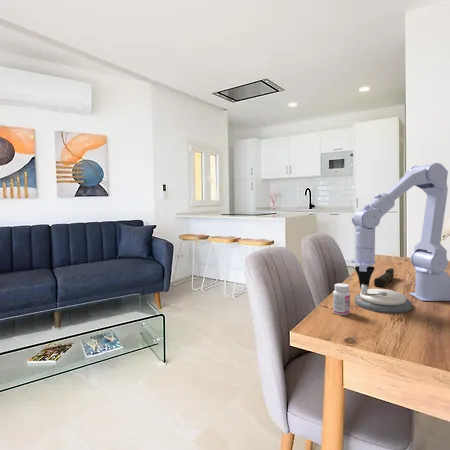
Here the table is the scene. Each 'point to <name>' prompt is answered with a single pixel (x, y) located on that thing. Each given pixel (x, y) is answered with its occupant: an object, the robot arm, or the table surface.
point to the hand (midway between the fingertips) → (364, 289)
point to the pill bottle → (341, 299)
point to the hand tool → (384, 278)
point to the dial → (381, 296)
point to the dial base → (383, 306)
